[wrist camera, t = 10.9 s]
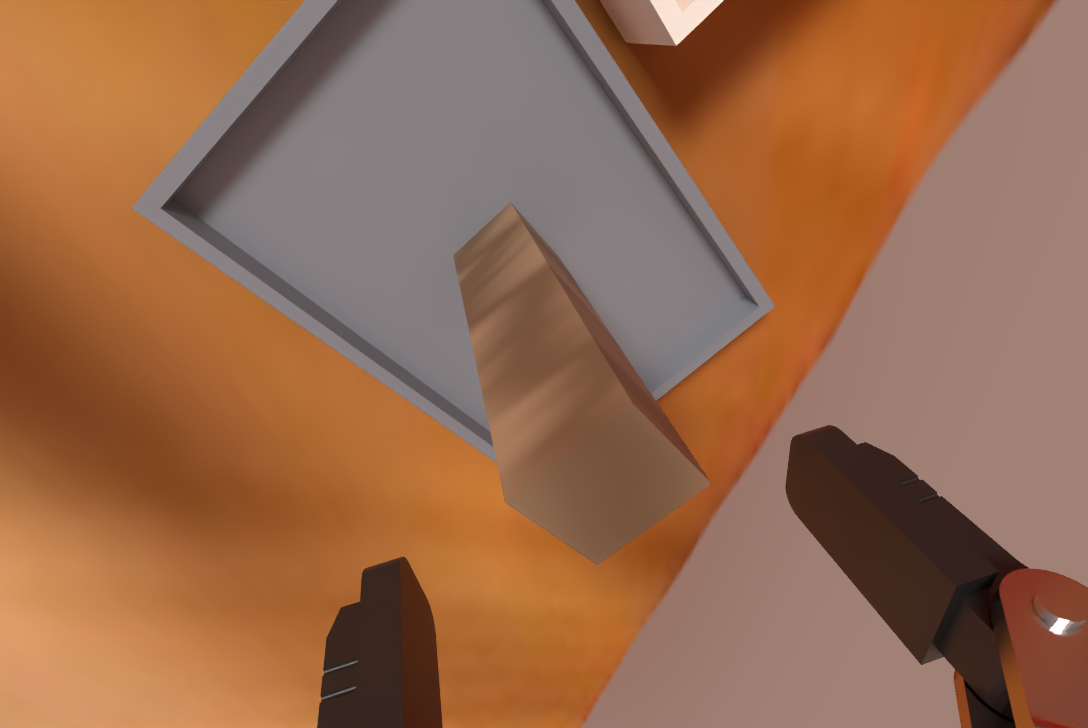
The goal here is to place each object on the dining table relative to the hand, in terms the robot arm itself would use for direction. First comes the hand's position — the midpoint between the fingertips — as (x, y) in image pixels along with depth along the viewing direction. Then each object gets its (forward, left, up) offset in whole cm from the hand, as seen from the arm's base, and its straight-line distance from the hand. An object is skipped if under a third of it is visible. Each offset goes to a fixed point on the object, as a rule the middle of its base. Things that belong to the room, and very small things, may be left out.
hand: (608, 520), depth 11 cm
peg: (0, 0, -15) cm, 15 cm away
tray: (0, 0, -15) cm, 15 cm away
